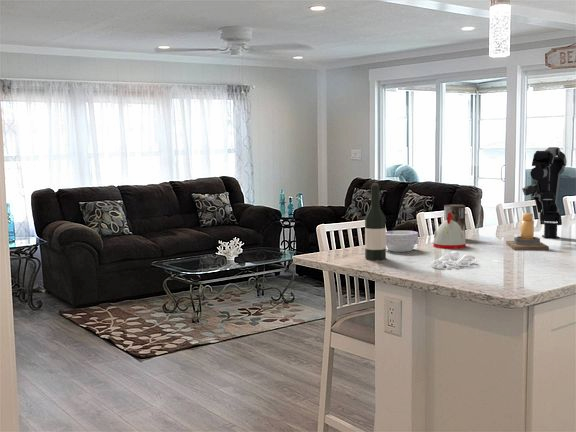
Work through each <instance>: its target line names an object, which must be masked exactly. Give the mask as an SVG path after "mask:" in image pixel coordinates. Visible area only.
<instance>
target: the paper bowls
mask: <svg viewBox="0 0 576 432" xmlns="http://www.w3.org/2000/svg"><path fill="white" fill-rule="evenodd" d="M415 245H419V232H418V231H414V230H388V231H386V247H387V249H388V251H390V252H395V253H407V252H411V251H412V250H414V248H415Z"/></svg>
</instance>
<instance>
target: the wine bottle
mask: <svg viewBox="0 0 576 432" xmlns="http://www.w3.org/2000/svg"><path fill="white" fill-rule="evenodd" d="M380 188H381V187H380V185H379V183H371V185H370V207H369V210H368V211H367V213H366V215H365V217H364V249H365V250H364V253H365V254H364V255H365V257H364V259H366V260H368V261H383V259H384V260H386V259H387V258H386V257H387V256H386V255H387V254H386V253H387V251H386V250H387V249H386V247H387V246H386V232H387V229H386V228H387V225H386V224H387V223H386V222H387V221H386V220H387V217H386V215H385V214H384V211H383V210H382V209H381V206H380V201H381V200H380V198H381V197H380V192H381V191H380V190H381V189H380Z"/></svg>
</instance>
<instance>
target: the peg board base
mask: <svg viewBox="0 0 576 432" xmlns="http://www.w3.org/2000/svg"><path fill="white" fill-rule="evenodd" d="M505 241H506V242H505V243H506V244H505V245H506V246H508V247H509V248H511V249H512V250H514V251H550V250H549V249H550V246H549V245H547V244H545V243H543V242H541V238H540V237H538V236H534V238H533V239H521V235H519V236H515V237H514V239H513V240H505Z"/></svg>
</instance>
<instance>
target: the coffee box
mask: <svg viewBox="0 0 576 432" xmlns="http://www.w3.org/2000/svg"><path fill="white" fill-rule="evenodd" d="M443 207H444V208H443V209H444V211H443V213H444V214H443V218H444V219H443V222H444V221H446V220H447V217H448V213H451V215H452V220H453V221H455V222H456V223H457V224H458V225H459V226H460V227H461V229H462V231H464V234H465V235H466V206H465V204H443Z"/></svg>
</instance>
